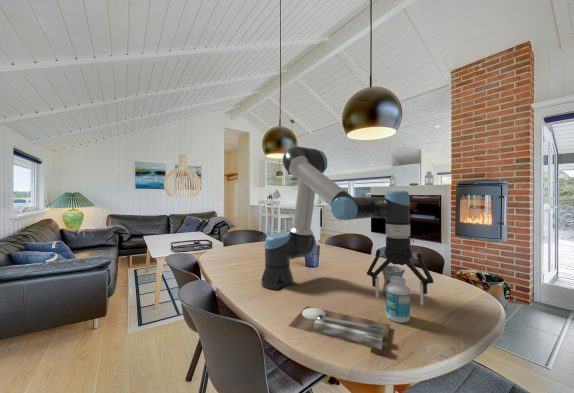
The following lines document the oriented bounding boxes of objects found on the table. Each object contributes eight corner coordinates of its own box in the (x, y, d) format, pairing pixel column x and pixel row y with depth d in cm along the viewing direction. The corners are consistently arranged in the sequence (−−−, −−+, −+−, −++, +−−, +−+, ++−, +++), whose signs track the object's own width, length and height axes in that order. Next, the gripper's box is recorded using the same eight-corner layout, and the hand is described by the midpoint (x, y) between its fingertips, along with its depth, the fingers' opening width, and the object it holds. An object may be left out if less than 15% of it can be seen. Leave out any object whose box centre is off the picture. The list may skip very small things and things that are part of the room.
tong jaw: (315, 325, 74) (315, 317, 74) (317, 321, 77) (317, 313, 77) (383, 339, 67) (383, 329, 67) (383, 334, 70) (383, 325, 70)
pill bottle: (382, 313, 86) (381, 275, 86) (402, 312, 86) (402, 274, 86) (393, 324, 78) (393, 282, 78) (415, 323, 79) (414, 281, 79)
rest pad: (298, 316, 81) (298, 315, 81) (307, 307, 88) (307, 306, 88) (321, 322, 77) (321, 321, 77) (328, 311, 84) (328, 310, 84)
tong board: (288, 329, 75) (288, 318, 75) (306, 309, 88) (306, 299, 88) (385, 356, 62) (385, 342, 62) (389, 328, 76) (389, 316, 76)
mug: (406, 299, 97) (406, 273, 97) (381, 296, 100) (381, 270, 100) (402, 288, 108) (402, 264, 108) (380, 286, 111) (380, 263, 111)
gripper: (357, 235, 84) (358, 297, 84) (442, 240, 73) (443, 311, 73) (361, 233, 91) (362, 289, 91) (439, 237, 80) (440, 302, 80)
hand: (398, 299), depth 82 cm, fingers open, 13 cm apart
